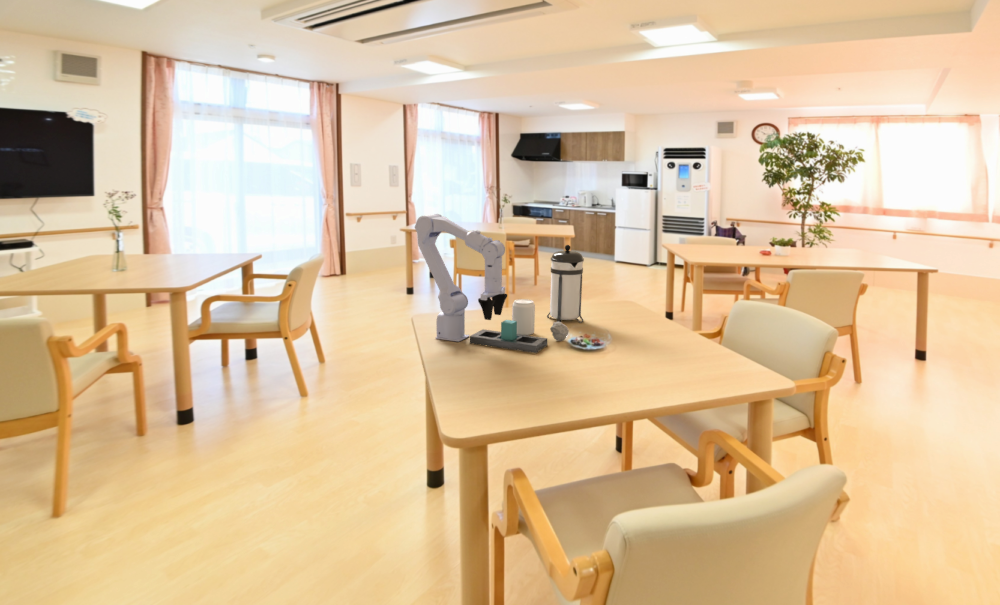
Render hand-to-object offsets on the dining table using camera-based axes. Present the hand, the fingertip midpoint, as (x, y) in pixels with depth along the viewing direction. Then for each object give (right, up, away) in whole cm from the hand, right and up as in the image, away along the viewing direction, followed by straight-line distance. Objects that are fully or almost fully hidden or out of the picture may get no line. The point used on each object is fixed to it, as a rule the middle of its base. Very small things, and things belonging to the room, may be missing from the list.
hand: (492, 317), depth 203 cm
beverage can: (+11, -6, +15) cm, 20 cm away
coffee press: (+27, -2, +36) cm, 45 cm away
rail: (+5, -9, +2) cm, 11 cm away
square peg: (+5, -9, +2) cm, 11 cm away
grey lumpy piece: (+23, -9, +7) cm, 25 cm away
